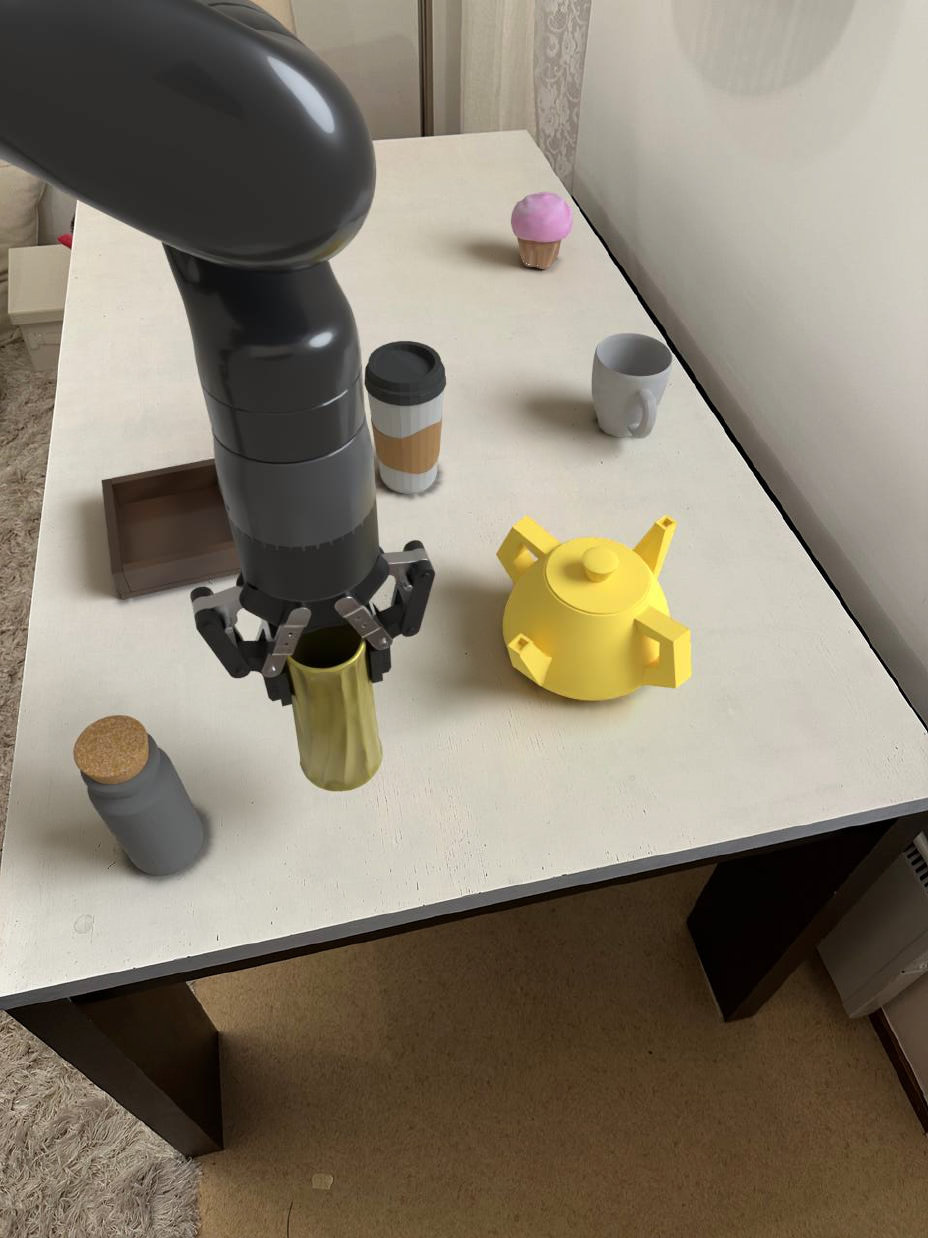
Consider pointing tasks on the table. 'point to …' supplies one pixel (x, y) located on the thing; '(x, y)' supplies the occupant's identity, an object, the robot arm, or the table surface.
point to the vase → (334, 708)
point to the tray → (168, 529)
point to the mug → (629, 383)
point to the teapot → (592, 613)
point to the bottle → (139, 795)
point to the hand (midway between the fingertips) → (330, 682)
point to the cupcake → (541, 227)
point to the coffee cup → (406, 413)
